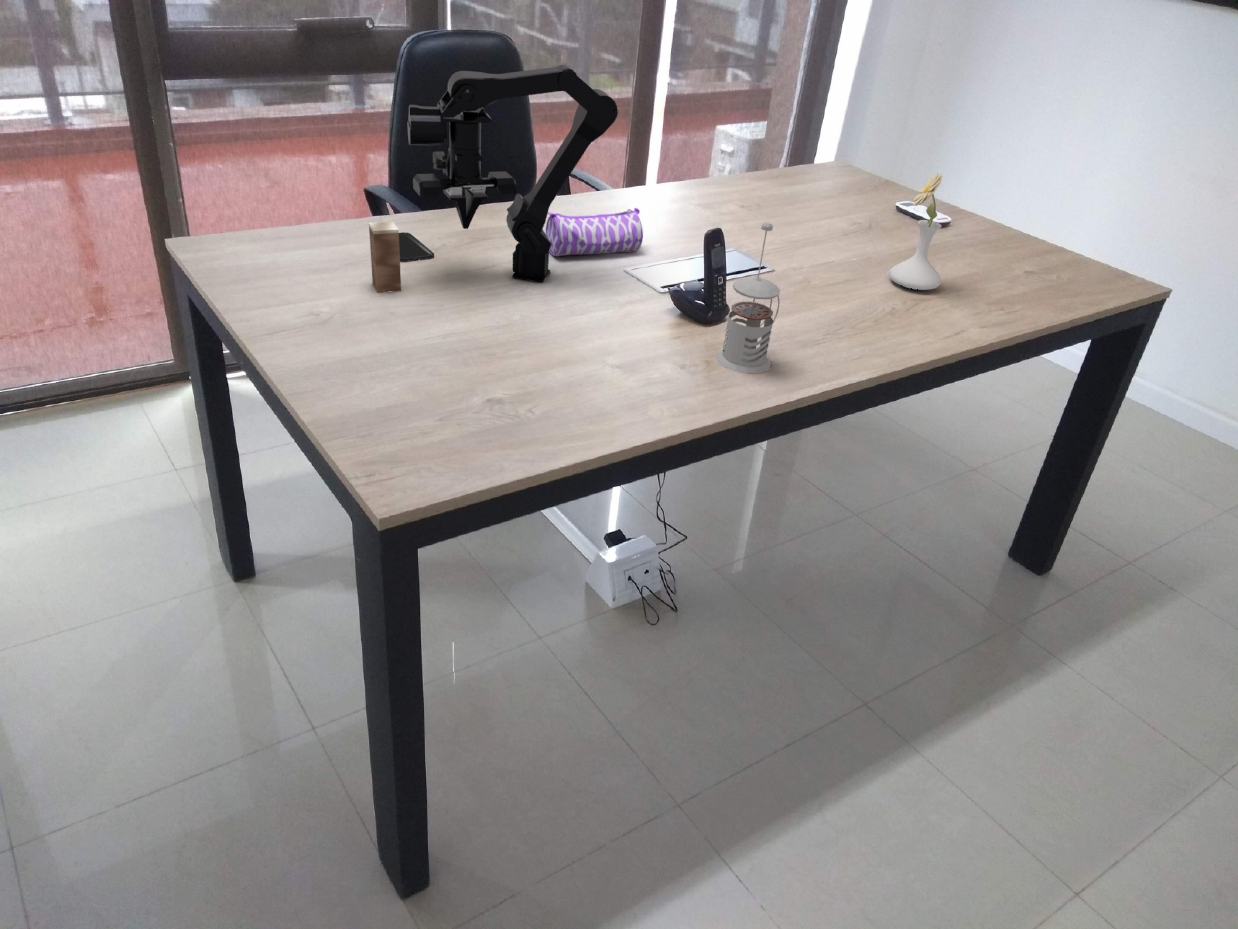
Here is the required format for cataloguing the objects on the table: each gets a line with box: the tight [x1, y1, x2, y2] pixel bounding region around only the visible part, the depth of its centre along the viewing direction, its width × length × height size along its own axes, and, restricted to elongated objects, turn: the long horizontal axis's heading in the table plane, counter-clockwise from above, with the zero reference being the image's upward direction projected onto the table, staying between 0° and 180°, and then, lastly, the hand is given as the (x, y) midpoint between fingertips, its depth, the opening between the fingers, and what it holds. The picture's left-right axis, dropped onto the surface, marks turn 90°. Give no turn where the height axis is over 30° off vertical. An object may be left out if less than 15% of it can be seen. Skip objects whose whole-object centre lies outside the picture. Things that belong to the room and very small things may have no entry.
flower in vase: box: [888, 172, 943, 291], centre depth 194 cm, size 13×11×25 cm
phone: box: [399, 231, 435, 263], centre depth 193 cm, size 8×1×15 cm
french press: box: [715, 221, 781, 374], centre depth 155 cm, size 10×12×25 cm
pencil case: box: [545, 207, 644, 257], centre depth 199 cm, size 22×9×10 cm, turn 118°
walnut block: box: [368, 221, 402, 294], centre depth 172 cm, size 4×4×12 cm
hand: (465, 228), depth 177 cm, fingers closed
